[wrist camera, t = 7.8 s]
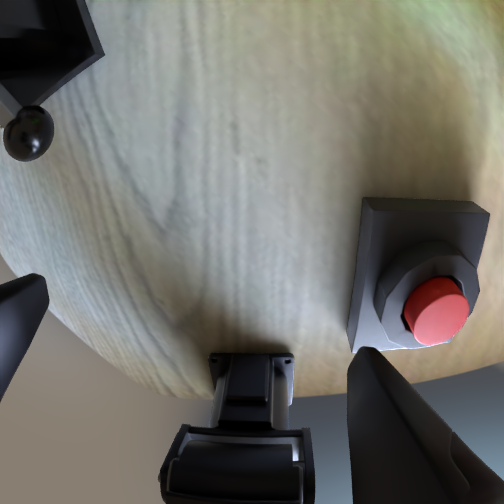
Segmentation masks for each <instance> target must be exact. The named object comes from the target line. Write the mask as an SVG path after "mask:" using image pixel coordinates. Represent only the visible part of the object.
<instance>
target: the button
mask: <svg viewBox="0 0 504 504" xmlns="http://www.w3.org/2000/svg"><path fill="white" fill-rule="evenodd" d="M404 314H405V318H406V320H407V322H408V324H409V326H410V329H411V331H412V333H413V335H414V337H415V339H416V340H417V341H418V342H420V343H421V344H424V345H436V344H440V343H442V342H445V341H447V340H448V339H450V338H451V337H453V336H454V335H455V334H456V333H457V332H458V331H459V330H460V329H461V328H462V326H463V325H464V323H465V322H466V320H467V317H468V314H469V303H468V300H467V298H466V297H465V296H464V294H463V293H462V292H461V291H460V289H459V288H458V287H457V285H456V284H455V283H454V282H453V281H452V280H451V279H449V278H447V277H443V276H438V277H433V278H430V279H428V280H426V281H424V282H422V283H421V284H419V285H418V286H417V287H416V288H415V289H414V290H413V291H412V292H411V294H410V295H409V297H408V299H407V301H406V304H405V308H404Z"/></svg>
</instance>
